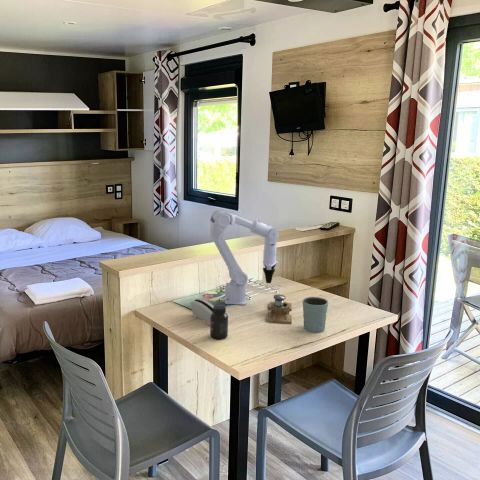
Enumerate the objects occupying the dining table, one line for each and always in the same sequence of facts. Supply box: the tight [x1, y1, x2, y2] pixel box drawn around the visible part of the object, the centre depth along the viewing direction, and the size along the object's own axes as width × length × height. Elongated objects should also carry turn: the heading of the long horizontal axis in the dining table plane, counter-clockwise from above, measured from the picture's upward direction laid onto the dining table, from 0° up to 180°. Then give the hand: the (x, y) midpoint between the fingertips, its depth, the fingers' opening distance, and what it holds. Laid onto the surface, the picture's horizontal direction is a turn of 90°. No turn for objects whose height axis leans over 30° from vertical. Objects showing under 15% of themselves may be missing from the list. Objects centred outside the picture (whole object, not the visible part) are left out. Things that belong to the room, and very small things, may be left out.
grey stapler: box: [190, 298, 215, 325], centre depth 205 cm, size 17×5×10 cm, turn 38°
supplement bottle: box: [209, 304, 229, 341], centre depth 188 cm, size 7×7×12 cm
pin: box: [273, 293, 286, 307], centre depth 215 cm, size 5×5×8 cm
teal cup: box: [302, 296, 329, 334], centre depth 198 cm, size 10×10×12 cm
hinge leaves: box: [267, 301, 293, 324], centre depth 215 cm, size 10×23×4 cm, turn 174°
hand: (268, 280), depth 231 cm, fingers open, 7 cm apart
